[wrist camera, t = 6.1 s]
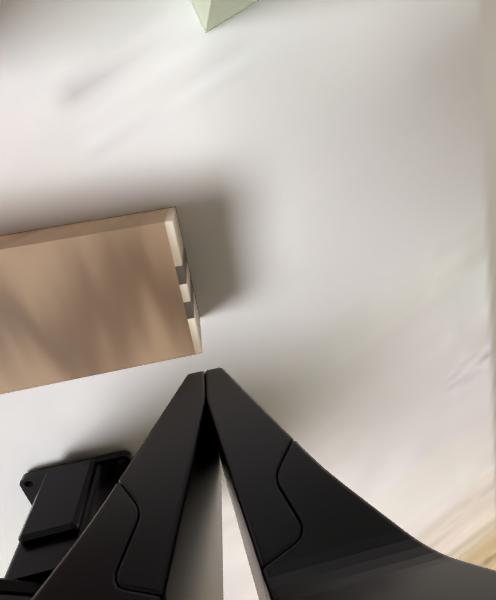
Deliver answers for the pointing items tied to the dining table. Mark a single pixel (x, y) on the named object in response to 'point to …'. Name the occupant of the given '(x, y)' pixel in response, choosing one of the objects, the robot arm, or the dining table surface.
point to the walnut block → (94, 299)
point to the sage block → (218, 10)
